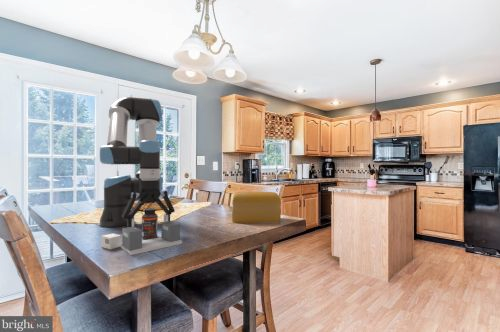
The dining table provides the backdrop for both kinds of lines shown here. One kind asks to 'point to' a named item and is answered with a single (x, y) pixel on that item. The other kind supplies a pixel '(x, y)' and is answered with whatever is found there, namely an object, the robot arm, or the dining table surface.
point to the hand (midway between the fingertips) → (149, 233)
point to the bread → (256, 207)
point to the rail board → (135, 244)
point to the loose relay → (111, 241)
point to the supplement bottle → (149, 224)
